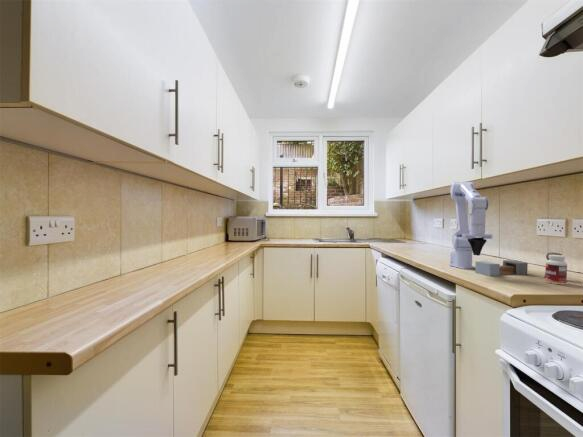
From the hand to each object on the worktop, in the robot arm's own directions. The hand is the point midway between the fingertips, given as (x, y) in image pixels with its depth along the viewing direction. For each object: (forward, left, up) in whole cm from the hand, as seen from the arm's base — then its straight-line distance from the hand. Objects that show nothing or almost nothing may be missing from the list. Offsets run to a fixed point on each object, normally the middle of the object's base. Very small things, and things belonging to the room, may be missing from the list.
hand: (476, 255), depth 125 cm
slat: (0, +13, -9) cm, 16 cm away
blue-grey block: (0, +6, -9) cm, 11 cm away
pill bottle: (+19, +19, -9) cm, 28 cm away
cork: (+13, +27, -9) cm, 31 cm away
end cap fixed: (0, +22, -9) cm, 23 cm away
